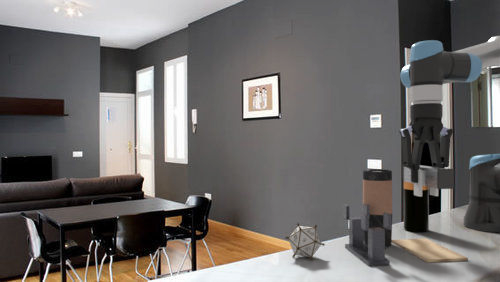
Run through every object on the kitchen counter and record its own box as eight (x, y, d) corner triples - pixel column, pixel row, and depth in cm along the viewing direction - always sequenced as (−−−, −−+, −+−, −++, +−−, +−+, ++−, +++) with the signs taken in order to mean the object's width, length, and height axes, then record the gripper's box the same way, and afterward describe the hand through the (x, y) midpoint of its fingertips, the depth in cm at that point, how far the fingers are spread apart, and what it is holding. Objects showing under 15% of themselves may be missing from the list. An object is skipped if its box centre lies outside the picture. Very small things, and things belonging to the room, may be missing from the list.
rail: (402, 181, 110) (402, 163, 110) (415, 180, 111) (415, 163, 111) (438, 189, 94) (438, 168, 94) (453, 188, 94) (453, 168, 94)
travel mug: (394, 248, 104) (394, 171, 104) (363, 247, 106) (363, 171, 106) (390, 241, 112) (390, 169, 112) (361, 239, 113) (361, 169, 113)
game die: (312, 271, 99) (336, 238, 98) (299, 268, 92) (325, 233, 92) (286, 247, 104) (310, 216, 104) (272, 243, 97) (297, 210, 97)
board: (425, 240, 112) (425, 238, 112) (467, 260, 94) (467, 257, 94) (391, 242, 111) (391, 239, 111) (427, 262, 93) (427, 259, 93)
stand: (342, 247, 106) (342, 204, 105) (365, 246, 106) (365, 203, 106) (366, 266, 91) (365, 215, 91) (392, 264, 91) (392, 214, 91)
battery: (399, 229, 125) (399, 165, 125) (411, 226, 130) (410, 164, 129) (421, 234, 119) (421, 166, 119) (433, 230, 124) (432, 165, 124)
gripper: (447, 104, 107) (447, 192, 107) (388, 104, 105) (387, 194, 105) (466, 102, 99) (466, 197, 100) (402, 101, 97) (402, 198, 98)
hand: (426, 195), depth 102 cm, fingers closed on rail, 4 cm apart
